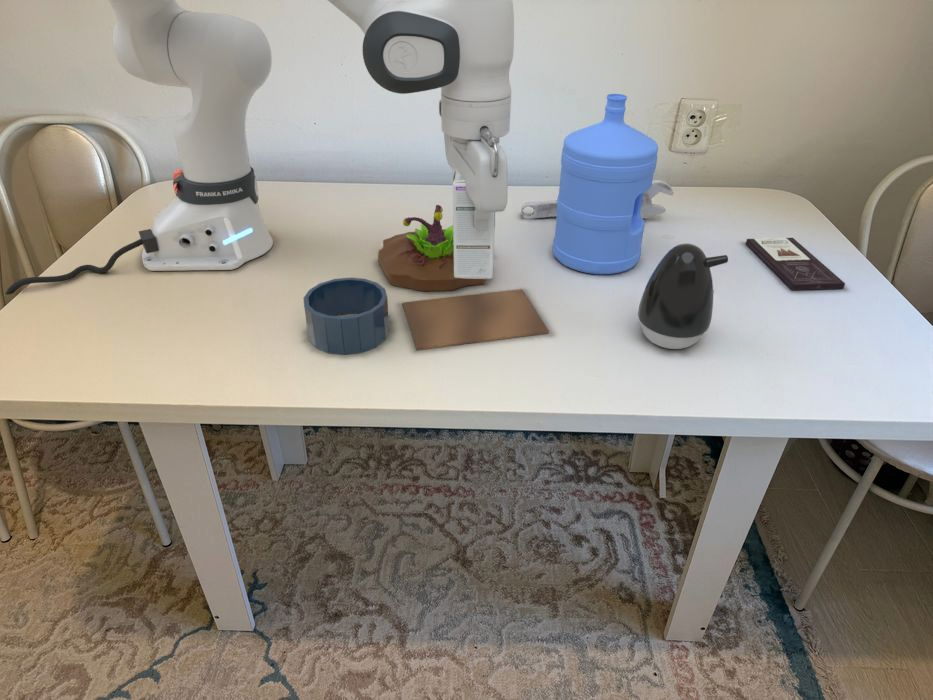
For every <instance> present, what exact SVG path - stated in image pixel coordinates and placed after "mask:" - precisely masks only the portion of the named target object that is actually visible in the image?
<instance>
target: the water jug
mask: <svg viewBox="0 0 933 700" xmlns="http://www.w3.org/2000/svg"><path fill="white" fill-rule="evenodd" d="M627 100H628V96H627V95H626V94H621V93H609V94H607V95H606V104H605V107H604V111H605V112H604V118H603V119H602V121H600V122H597V123H594V124H592V125H589V126H586V127H583V128H580V129H578V130H575V131H572V132H570V133H569V134H567V135H566V136H565V138H564V139H563V145H562V149H561V158H560V165H561V167H560V177H559V187H558V195H557V199H556V200H557V216H556V218H555V231H554V238H553V242H552V252H553V255H554V257H555V258H556V259H557V261H558V262H559V263H561V264H562V265H564V266H566V267H567V268H570V269H572V270H575V271H578V272H581V273H586V274H591V275H613V274H619V273H623V272H626V271H629V270H631V269H632V268H634V267H635V266H636V265H637V264H638V263H639V260H640V258H641V253H642V242H643V238H644V237H643V236H644V232H645V231H644V230H645V220H644V218H643V219H642V217H641V215H640V212H641V206H642V200H643V194H644V192H646V191H647V190H649V189H650V188H651V186H652V181H653V180H654V175H655V172H656V169H657V162H658V151H659V145H658V143H657V142H656V140H655V139H653V138H652V137H651V136H649V135H647V134H645V133H643V132H641V131H640V130H638V129H636V128H634V127H632V126H630V125H629V124H627V123H626V122H625V120H624V119H625V112H626V101H627Z"/></svg>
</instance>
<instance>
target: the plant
mask: <svg viewBox="0 0 933 700" xmlns="http://www.w3.org/2000/svg"><path fill="white" fill-rule="evenodd" d="M443 211H444V209H443V206H441V204H436V205H435V208H434V212H433V221H432V224H431V223H429V222H428V221H426V220H424V219H423V218H421V217H417V216H414V217H413V216H412V217H405V218H404V219H403V221H402V225H403V226H404V227H409V226H410V225H411V223H412V222H414V221H415V222H419V223H420V229H419V228H414V231H407V232H404V233H399V234H395V235H393V236H390V237H388V238H385V239H383V240H382V248H381V249H379V250H378V252H377V261H378V264H379V266H380V268H381V269H382V271H383V273H384V274H385V277H386V278H387V280H388V282H389V285H391V286H393V287H400V288H401V287H402V288H409V289H412V290H415V291H422V292H447V291H450V292H451V291H455V290H457V289H460V288H462V287H468V286H477V285H479V286H480V285H485V283H486V281H487V280H488V279H468V278H455V277H454V254H453V225H451V226H449V227H447V228H445V229H444V228H443V226H442V224H441V220H442V219H443Z"/></svg>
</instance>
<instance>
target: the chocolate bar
mask: <svg viewBox="0 0 933 700" xmlns="http://www.w3.org/2000/svg"><path fill="white" fill-rule="evenodd" d="M745 245H747V247H749V249H750V250H752V252H753V253H754V254H755V255H756V256H757V257H758V258H760V260H761V261H762V262H764V264H765V265H767V267H768V268H769V269H771V271H773V273H774V274H775V275H776V276H777V277H778V278H779V279H780V280H781V281H782V282H783V283H784V284H785V285H786V286H787V287H788V288H789V289H790V290H791V291H804V290H805V291H807V290H810V291H811V290H837V289H841V290H842V289H844V288H845V285H846V282H845V281H843V280H842V279H841V278H840V277H838V275H837V274H835V272H833V271H832V270H831V269H830V268H828V267H827V266H826V265H825V264H824V263H822V262H821V260H819V259H818V258H817V257H815V255H813V253H811V252H810V251H808V250H807V248H805V247H804V246H803V245H802V244H801V243H799V242H798V241H797V240H796V239H795V238H794V237H771V238H770V237H765V238H764V237H763V238H747V239H746V241H745Z"/></svg>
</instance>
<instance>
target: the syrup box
mask: <svg viewBox="0 0 933 700" xmlns="http://www.w3.org/2000/svg"><path fill="white" fill-rule="evenodd" d="M473 215H475V207H474V203H473V202H472V200H471V199H470V197H469V195H468V194H467V192H466V184H465V180H464V178H463V177H462V176H461V174H460V173H459V172H458V170H457V169H456V168H455V173H454V172H453V178H452V226H453V254H454V277H455V278H468V279H487V280H493V277H494V265H495V264H494V261H495V236H496V235H495V231H496V230H495V229H496V212H493V213H491V214H490V217H489V222H488V230H487V231H481V232H477V231H476V230H475V228H474V226H473Z"/></svg>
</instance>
